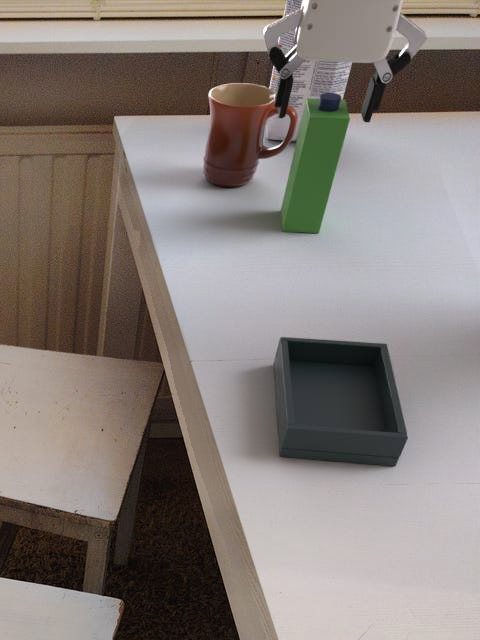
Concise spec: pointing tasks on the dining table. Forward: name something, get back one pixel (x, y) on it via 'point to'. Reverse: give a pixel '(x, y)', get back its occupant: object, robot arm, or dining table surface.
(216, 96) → the mug
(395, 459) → the dark grey tray
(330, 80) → the juice carton
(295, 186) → the green drink carton
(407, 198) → the dining table surface
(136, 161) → the dining table surface
